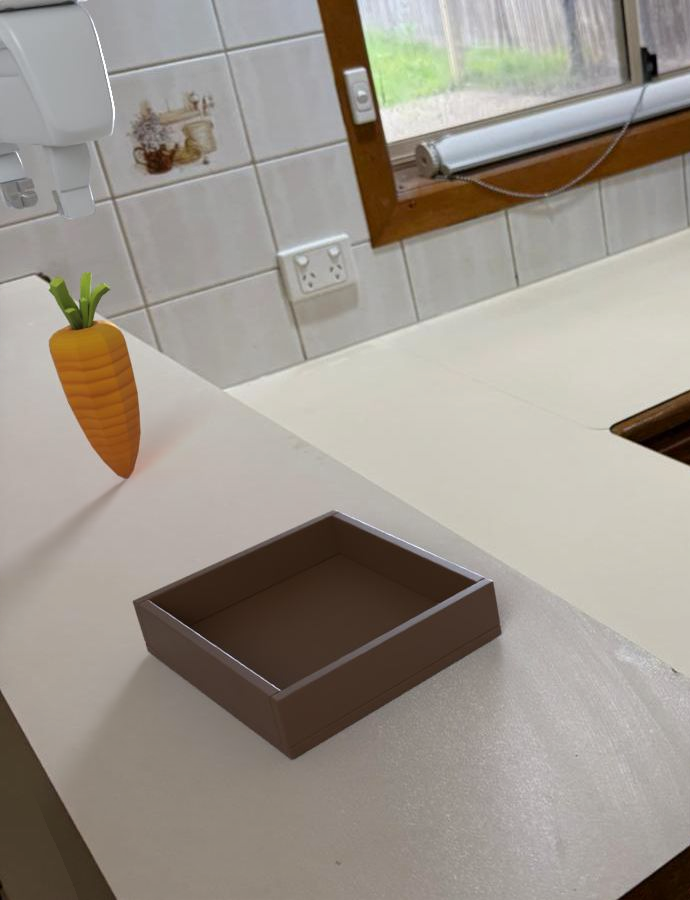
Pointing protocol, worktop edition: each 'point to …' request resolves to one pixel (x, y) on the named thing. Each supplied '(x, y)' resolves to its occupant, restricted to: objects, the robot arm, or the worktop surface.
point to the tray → (317, 627)
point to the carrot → (97, 376)
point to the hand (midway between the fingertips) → (49, 212)
